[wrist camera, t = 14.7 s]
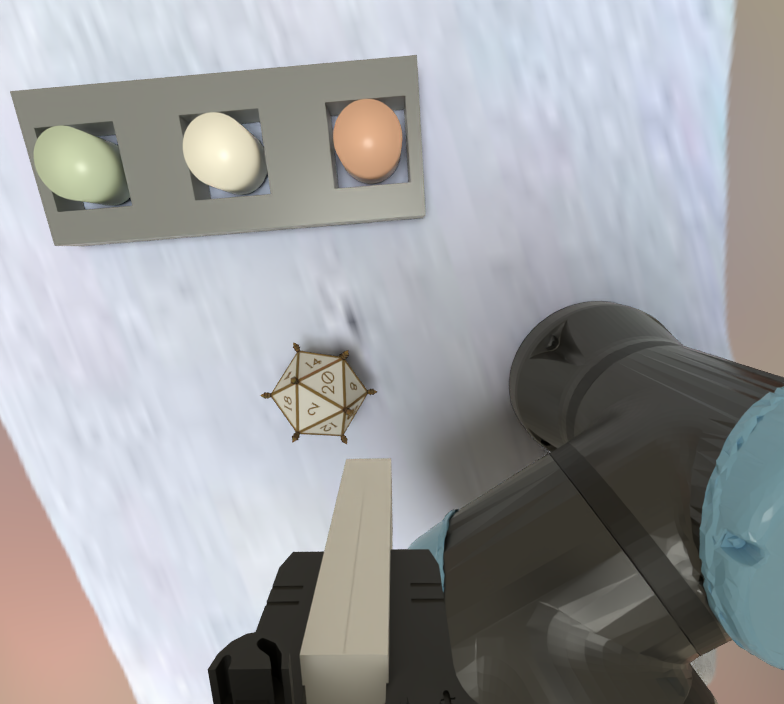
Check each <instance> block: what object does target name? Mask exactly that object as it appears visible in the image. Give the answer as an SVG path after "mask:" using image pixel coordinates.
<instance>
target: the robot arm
mask: <svg viewBox="0 0 784 704" xmlns="http://www.w3.org/2000/svg"><path fill="white" fill-rule="evenodd" d="M509 391H510V398H511V403H512V406H513V409H514V411H515V413H516V415H517V417H518V419H519V421H520V422H521V423H522V425H523V426H524V427H525V429H526V430H527V431H528V433H529V434H530V435H531V436H532V437H533V438H534V439H535V440H536V441H537V442H538V443H539V444H540V445H542V446H543V447H544V448H546V449H547V450H549V451H551V453H549V454H547V455H545V456H544V457H542V458H541V459H539V460H537V461H536V462H534V463H533V464H531V465H530V466H528V467H526V468H525V469H523V470H522V471H520V472H518V473H517V474H515V475H514V476H512V477H511V478H509V479H507V480H506V481H504V482H503V483H501V484H499V485H498V486H496V487H495V488H493V489H492V490H490V491H488V492H487V493H485V494H484V495H482V496H480V497H479V498H477V499H476V500H474V501H473V502H471V503H469V504H468V505H466V506H465V507H463V508H462V509H460V510H459V509H457V510H452V511H450V512H449V513H448V514H447V515H446V516H445V518H444V519H443V521H441V522H440V523H438V524H437V525H436V526H434V527H433V528H431V529H430V530H429V531H427V532H426V533H424V534H423V535H422V536H420V537H419V538H418V539H416V540H415V541H414V542H413V543H412V544H411V545H410V547H409V548H408V549H398V550H392V536H393V527H392V478H391V458H387V459H346V462H345V466H344V471H343V475H342V479H341V483H340V487H339V492H338V496H337V500H336V504H335V508H334V513H333V517H332V521H331V525H330V529H329V534H328V538H327V542H326V546H325V550H324V552H293V553H292V554H291V555H290V556H289V557H288V558H287V560H286V561H285V562H284V563H283V564H282V565H281V566H280V567H279V570H278V573H277V575H276V578H275V581H274V584H273V588H272V590H271V592H270V594H269V597H268V600H267V605H266V606H265V608H264V611H263V613H262V616H261V619H260V621H259V624H258V627H257V630H256V632H254V633H249V634H245V635H243V636H241V637H240V638H238V639H236V640H234V641H232V642H230V643H229V644H228V645H227V646H226V647H225V648H224V649H223V650H222V651H221V652H219V653H218V654H217V656H216V657H215V659H214V661H213V662H212V664H211V665H210V667H209V668H208V674H209V680H210V686H211V692H212V697H213V703H214V704H718V703H717V700H716V699H715V698H714V696H713V694H712V693H711V691H710V690H709V689H708V688H707V686H706V685H705V684H704V682H703V681H702V679H701V678H700V677H699V675H698V674H697V673H696V671H695V670H694V668H693V667H692V666H691V664H690V662H692V661H693V660H695V659H696V658H698V657H699V656H701V655H703V654H705V653H707V652H709V651H711V650H713V649H715V648H717V647H719V646H721V645H723V644H725V643H727V642H728V641H731V640H733V641H734V642H735V643H736V644H737V645H738V646H739V647H741V648H743V649H744V650H746V651H748V652H749V653H750V654H752V655H755V656H756V657H758V658H759V659H761V660H762V661H764V662H766V663H767V664H769V665H771V666H774V667H776V668H779V669H781V670H784V377H781V376H777V375H774V374H771V373H768V372H765V371H761V370H758V369H755V368H752V367H749V366H745V365H742V364H739V363H736V362H733V361H730V360H727V359H723V358H720V357H717V356H714V355H711V354H708V353H705V352H702V351H698V350H695V349H692V348H689V347H686V346H683V345H682V344H681V343H680V342H679V341H678V340H677V339H676V338H675V337H674V336H672V334H671V333H670V332H669V331H668V330H667V329H666V328H665V327H664V326H663V325H662V324H661V323H660V322H659V321H658V320H657V319H655V318H654V317H652V316H650V315H649V314H647V313H645V312H643V311H641V310H639V309H636V308H633V307H629V306H625V305H621V304H617V303H612V302H604V301H592V302H584V303H579V304H575V305H572V306H569V307H566V308H564V309H561V310H559V311H557V312H555V313H554V314H552V315H550V316H549V317H547V318H546V319H545V320H543V321H542V322H541V323H540V324H538V325H537V326H536V327H535V328H534V329H533V330H532V331H531V332H530V334H529V335H528V336H527V337H526V339H525V340H524V341H523V343H522V344H521V346H520V348H519V350H518V351H517V354H516V356H515V358H514V361H513V364H512V368H511V372H510V379H509ZM698 654H699V655H698Z"/></svg>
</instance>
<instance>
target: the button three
mask: <svg viewBox="0 0 784 704" xmlns="http://www.w3.org/2000/svg"><path fill="white" fill-rule="evenodd" d="M333 141H334V147H335V150H336V152H337V155H338V157H339V158H340V160H341V162H342V164H343V166H344V167H345V169H346V171H347V172H348V173H349V174H350V175H351V176H352V177H353V178H354V179H356V180H358V181H360V182H363V183H368V184H374V183H379V182H382V181H384V180H385V179H387V178H388V177H389V176H391V175H392V174H393V172H394V171H395V170H396V168H397V166H398V163H399V161H400V156H401V147H402V130H401V125H400V123H399V120H398V118H397V116H396V115H395V113H394V112H393V111H392V110H391V109H390V108H389V107H388V106H387V105H385V104H384V103H382V102H380V101H377V100H374V99H360V100H357V101H354V102H352V103H351V104H349V105H348V106H347V107H345V108H344V109H343V111H342V112H341V113H340V115H339V116H338V118H337V120H336V123H335V126H334V132H333Z"/></svg>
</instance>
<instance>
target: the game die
mask: <svg viewBox="0 0 784 704" xmlns="http://www.w3.org/2000/svg"><path fill="white" fill-rule="evenodd" d="M293 348H294V349H295V351H296V352H297V353H296V355H295V357H294V358H293V360H292V361H291V363H290V365H289V366H288V368H287V369H286V371H285V373H284V374H283V376H282V377H281V379H280V380H279V382H278V384H277V385H276V387H275V388H274V390H273V392H272V393H269V392H268V393H266V392H264V394H262V395H260V396H262V397H264V398H270V397H272V399H273V400H274V401H275V403H276V404H277V406H278V407H279V409H280V410H281V411H282V413H283V414H284V416H285V417H286V418H287V420H288V421H289V423H290V424H291V426H292V427H293V428H294V430H295V432H296V433H295V434H294V435H293V436H292V443H293V442H294V441H296V440H298V438H299V437H300V436H299V435H300V434H309V435H330V436H341V440H342V442H344V443H345V444H347V440H348V439H347V438H346V436H345V435H344V433H345V431H346V430H347V428H348V426H349V424H350V423H351V421H352V419H353V418H354V416H355V414H356V413H357V411H358V409H359V407H360V406H361V404H362V402H363V401H364V399H365V397H366V395H367V394H370V395H371V394H372V395H374V394H375V393H377V391H375V390H374V389H370V390H367V389H366V388H365V386H364V385H363V384H362V382H361V381H360V379H359V378H358V377H357V375H356V374H355V372H354V371H353V370H352V368H351V367H350V365H349V364H348V363H347V361H346V360H345V359H346V358H347V357H348V356H349V353H348V350H347V351H344V352H343V354H340V355H339V356H332V355H325V354H318V353H311V352H305V351H300V347H299V345H298V344H296V343H293Z"/></svg>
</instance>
